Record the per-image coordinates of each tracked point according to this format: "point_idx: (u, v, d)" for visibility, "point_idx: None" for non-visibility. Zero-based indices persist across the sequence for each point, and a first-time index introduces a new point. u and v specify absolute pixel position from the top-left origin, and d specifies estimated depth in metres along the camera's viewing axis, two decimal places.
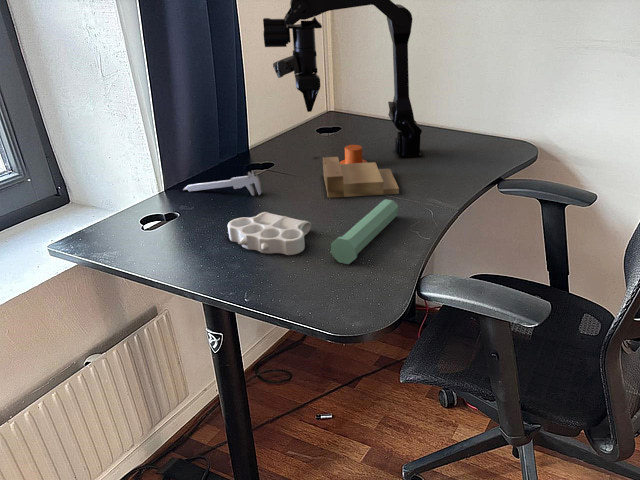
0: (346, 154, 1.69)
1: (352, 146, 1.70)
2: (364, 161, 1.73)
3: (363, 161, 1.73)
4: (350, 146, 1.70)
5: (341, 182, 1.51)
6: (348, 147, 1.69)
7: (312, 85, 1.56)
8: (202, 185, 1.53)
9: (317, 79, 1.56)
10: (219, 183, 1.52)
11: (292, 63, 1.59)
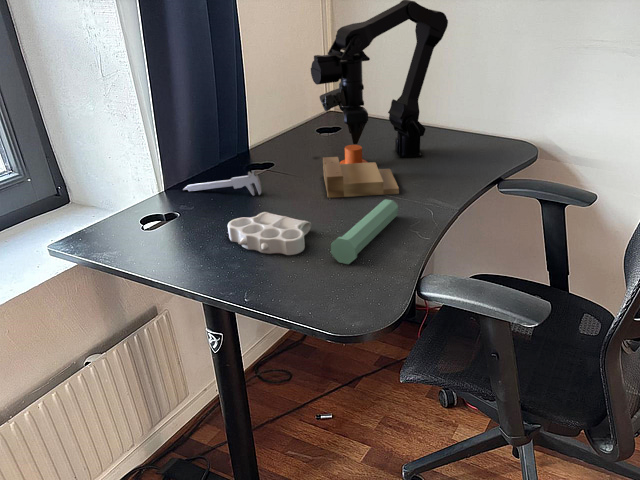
0: (346, 154, 1.69)
1: (352, 146, 1.70)
2: (364, 161, 1.73)
3: (363, 161, 1.73)
4: (350, 146, 1.70)
5: (341, 182, 1.51)
6: (348, 147, 1.69)
7: (360, 119, 1.56)
8: (202, 185, 1.53)
9: (365, 113, 1.56)
10: (219, 183, 1.52)
11: (339, 96, 1.59)
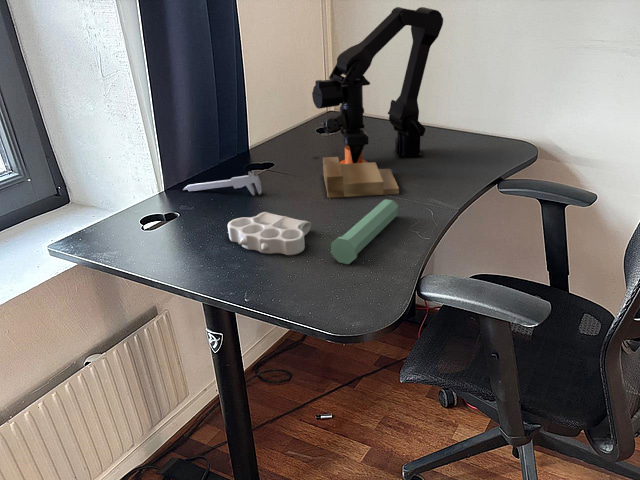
0: (346, 154, 1.69)
1: None
2: (364, 161, 1.73)
3: (363, 161, 1.73)
4: None
5: (341, 182, 1.51)
6: (348, 147, 1.69)
7: (360, 142, 1.59)
8: (202, 185, 1.53)
9: (366, 137, 1.59)
10: (219, 183, 1.52)
11: (340, 120, 1.62)
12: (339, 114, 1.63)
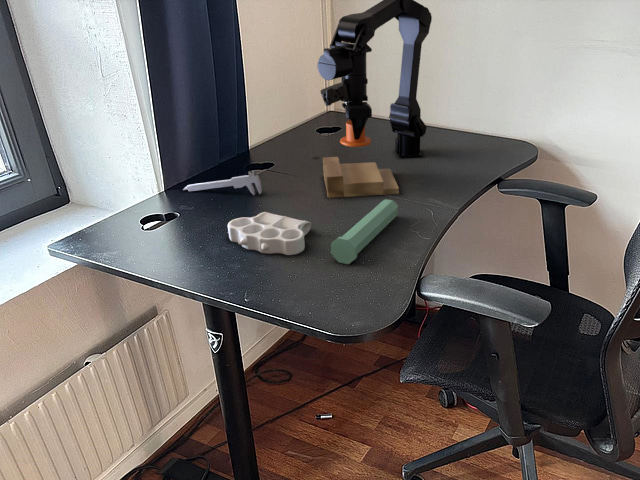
0: (347, 129, 1.56)
1: None
2: (367, 138, 1.60)
3: (366, 138, 1.60)
4: None
5: (341, 182, 1.51)
6: (350, 122, 1.56)
7: (363, 115, 1.46)
8: (202, 185, 1.53)
9: (369, 109, 1.46)
10: (219, 183, 1.52)
11: (341, 91, 1.49)
12: (340, 85, 1.50)
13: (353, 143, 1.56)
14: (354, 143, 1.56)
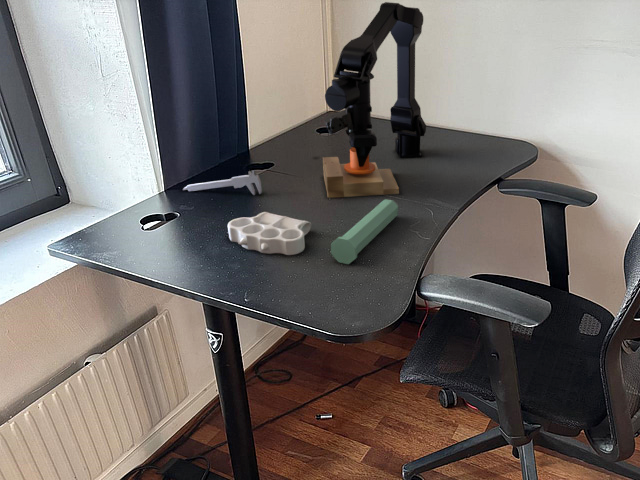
0: (351, 157, 1.54)
1: None
2: (371, 164, 1.58)
3: (370, 164, 1.58)
4: None
5: (341, 182, 1.51)
6: (354, 149, 1.54)
7: (368, 144, 1.45)
8: (202, 185, 1.53)
9: (374, 138, 1.44)
10: (219, 183, 1.53)
11: (345, 119, 1.47)
12: (344, 113, 1.48)
13: (357, 170, 1.54)
14: (358, 170, 1.55)
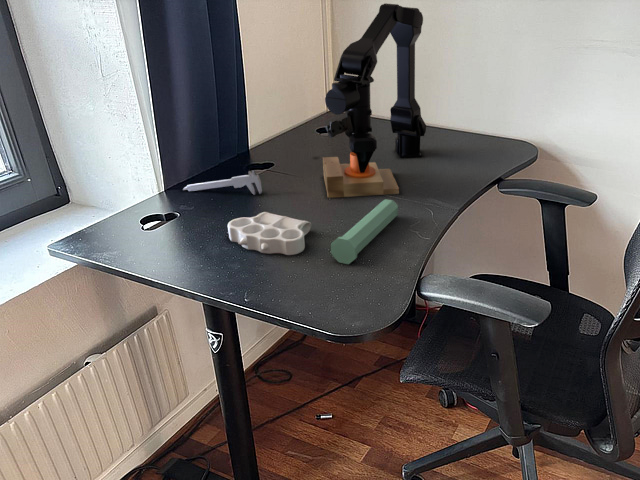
0: (352, 161, 1.55)
1: None
2: (371, 168, 1.59)
3: (370, 168, 1.59)
4: None
5: (341, 182, 1.51)
6: (354, 153, 1.55)
7: (368, 147, 1.45)
8: (202, 185, 1.53)
9: (374, 141, 1.45)
10: (219, 182, 1.53)
11: (345, 122, 1.48)
12: (344, 116, 1.49)
13: (357, 174, 1.55)
14: (358, 174, 1.55)
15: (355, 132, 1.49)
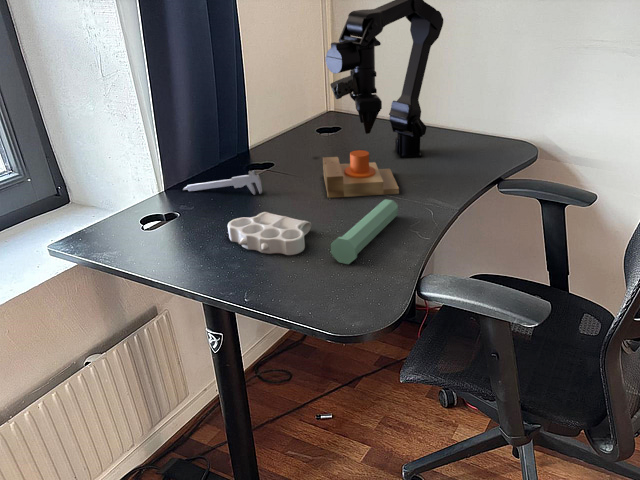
0: (352, 161, 1.55)
1: (358, 152, 1.56)
2: (371, 168, 1.59)
3: (370, 168, 1.59)
4: (356, 152, 1.56)
5: (341, 182, 1.51)
6: (354, 153, 1.55)
7: (373, 107, 1.51)
8: (202, 185, 1.53)
9: (379, 101, 1.50)
10: (219, 182, 1.53)
11: (351, 84, 1.53)
12: (350, 78, 1.54)
13: (357, 174, 1.55)
14: (358, 174, 1.55)
15: (360, 94, 1.55)
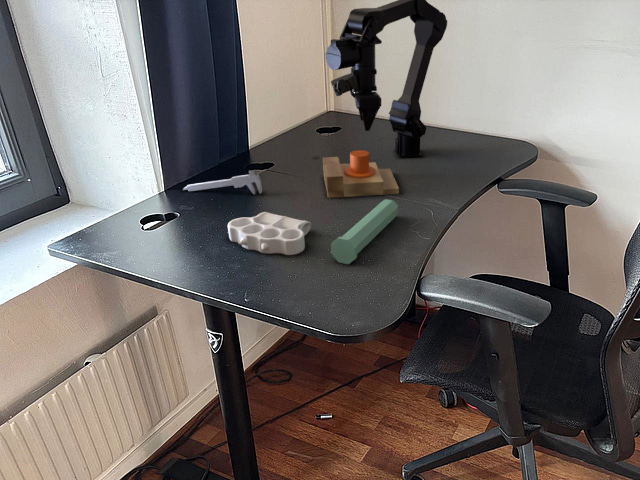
0: (352, 161, 1.55)
1: (358, 152, 1.56)
2: (371, 168, 1.59)
3: (370, 168, 1.59)
4: (356, 152, 1.56)
5: (341, 182, 1.51)
6: (354, 153, 1.55)
7: (373, 104, 1.52)
8: (202, 185, 1.53)
9: (378, 98, 1.51)
10: (219, 182, 1.53)
11: (351, 81, 1.55)
12: (350, 75, 1.55)
13: (357, 174, 1.55)
14: (358, 174, 1.55)
15: (361, 91, 1.56)
